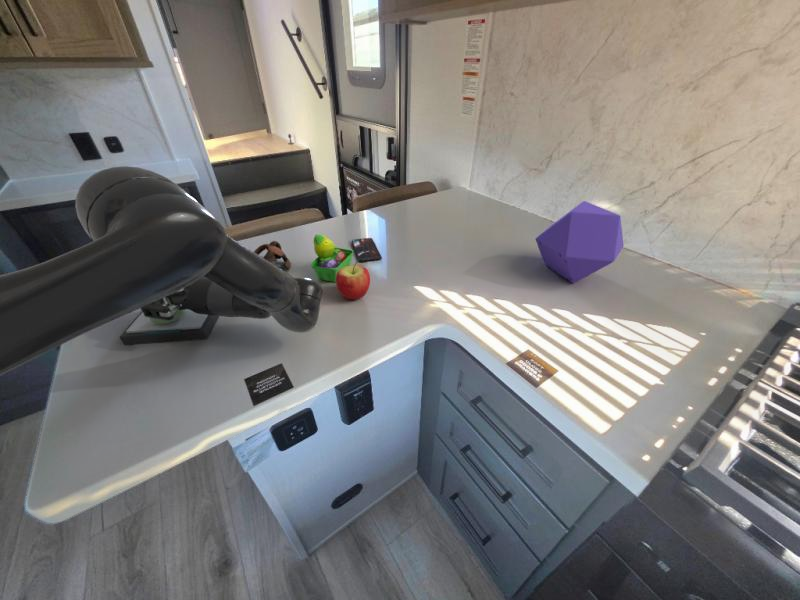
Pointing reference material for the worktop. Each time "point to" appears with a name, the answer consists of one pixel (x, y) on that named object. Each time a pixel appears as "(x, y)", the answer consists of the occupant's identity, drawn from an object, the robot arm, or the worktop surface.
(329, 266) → the fruit basket
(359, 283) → the apple
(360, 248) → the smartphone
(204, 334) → the scale
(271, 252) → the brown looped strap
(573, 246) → the purple polyhedron
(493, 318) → the worktop surface
